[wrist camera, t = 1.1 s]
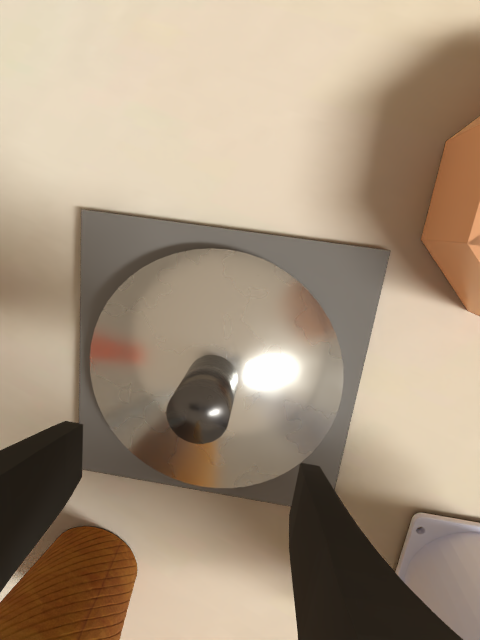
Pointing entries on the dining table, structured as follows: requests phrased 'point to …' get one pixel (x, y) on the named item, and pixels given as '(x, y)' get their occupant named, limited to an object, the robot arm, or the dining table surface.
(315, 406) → the steel lid
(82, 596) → the disposable coffee cup
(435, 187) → the terracotta bowl
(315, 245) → the rubber mat
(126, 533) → the dining table surface
